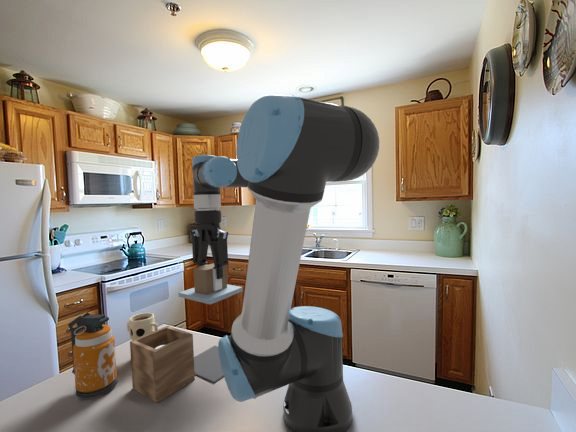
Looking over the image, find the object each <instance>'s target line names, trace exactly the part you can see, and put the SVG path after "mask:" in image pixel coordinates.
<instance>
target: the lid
mask: <svg viewBox="0 0 576 432" xmlns="http://www.w3.org/2000/svg"><path fill="white" fill-rule="evenodd" d="M213 267H215V266H214V262H213V263H209V264H205V266H201V267H198V266H197V267H195V268H193V284H194V287H191V288H189V289H185V290H183V291H180V292H178V297H179V298H183V299H187V300H190V301H194V302H199V303H203V304H206V305H210V306H211V305H212V304H215V303H218V302H221V301H222V300H225V299H227V298H230V297H232V296H234V295H236V294H237V295H238V293H242V292H244V290H243V289H244V287H243V286H237V285H233V284H228V276H227V265H226V266H223V278H222V289H220V290H217V291H214V290H213Z"/></svg>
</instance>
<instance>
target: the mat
mask: <svg viewBox="0 0 576 432" xmlns="http://www.w3.org/2000/svg"><path fill="white" fill-rule="evenodd" d="M194 373H195V376H197V377H200V378H201V379H205V380H206V381H209V382H211V383H214V384H216V383H217V382H218V381H219V380H221V379H222V378H224V375H223V371H222V367H221V362H220V357H219V350H218V346H217V345H213V346H212V347H209V348H207V349H206V350H204V351H202V352H201V353H199V354H198V355H194Z"/></svg>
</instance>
